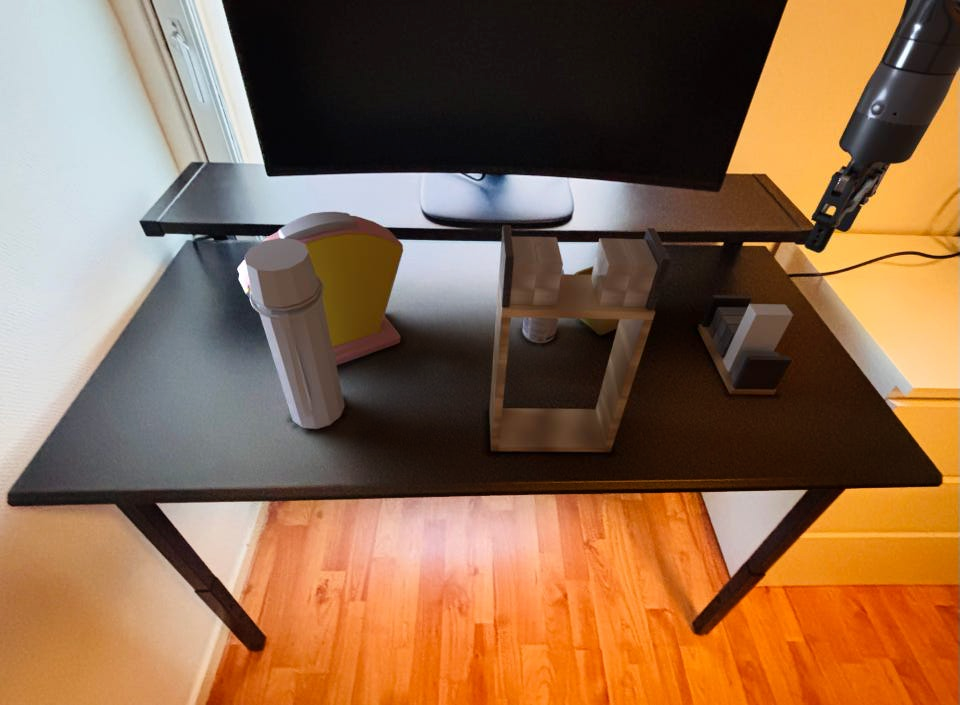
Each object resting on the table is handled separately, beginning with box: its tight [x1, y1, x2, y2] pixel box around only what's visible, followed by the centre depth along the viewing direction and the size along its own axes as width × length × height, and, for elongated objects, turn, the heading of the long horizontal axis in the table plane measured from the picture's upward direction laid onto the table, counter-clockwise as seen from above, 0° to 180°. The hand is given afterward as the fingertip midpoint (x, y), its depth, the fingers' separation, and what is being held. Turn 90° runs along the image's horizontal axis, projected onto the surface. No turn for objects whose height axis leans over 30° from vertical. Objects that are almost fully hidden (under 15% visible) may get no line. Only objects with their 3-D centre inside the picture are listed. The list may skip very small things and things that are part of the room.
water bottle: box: [243, 238, 345, 430], centre depth 64 cm, size 9×8×25 cm
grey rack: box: [697, 294, 793, 396], centre depth 81 cm, size 15×7×7 cm, turn 1°
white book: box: [723, 303, 794, 372], centre depth 77 cm, size 2×5×11 cm, turn 91°
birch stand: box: [489, 280, 654, 453], centre depth 64 cm, size 16×7×22 cm, turn 91°
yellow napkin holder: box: [237, 211, 404, 366], centre depth 76 cm, size 22×9×22 cm, turn 122°
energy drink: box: [522, 268, 565, 344], centre depth 83 cm, size 5×5×12 cm
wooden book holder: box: [498, 224, 671, 320], centre depth 54 cm, size 16×7×7 cm, turn 91°
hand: (826, 239), depth 70 cm, fingers open, 8 cm apart
